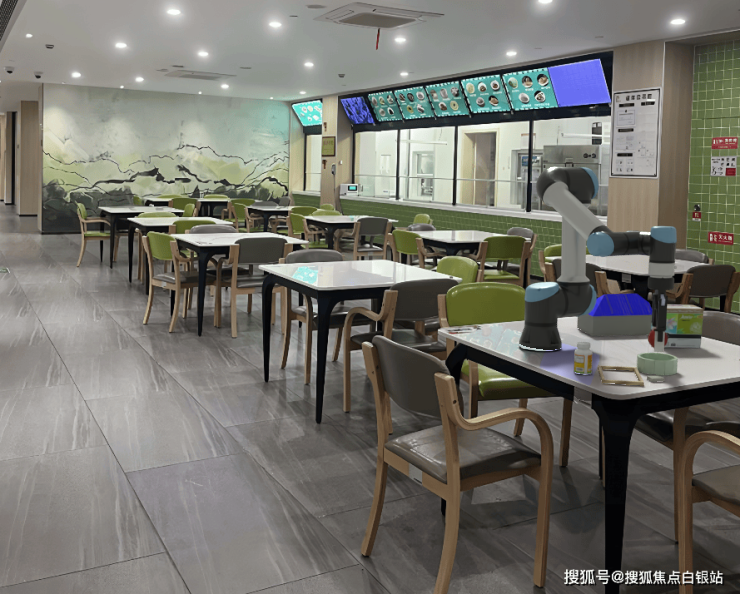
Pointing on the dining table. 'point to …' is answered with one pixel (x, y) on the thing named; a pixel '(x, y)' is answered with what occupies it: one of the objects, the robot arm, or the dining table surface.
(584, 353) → the supplement bottle
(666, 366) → the bowl
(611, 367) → the picture frame
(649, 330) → the house
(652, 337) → the onion
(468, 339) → the dining table surface
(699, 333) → the tea box
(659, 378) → the stone
